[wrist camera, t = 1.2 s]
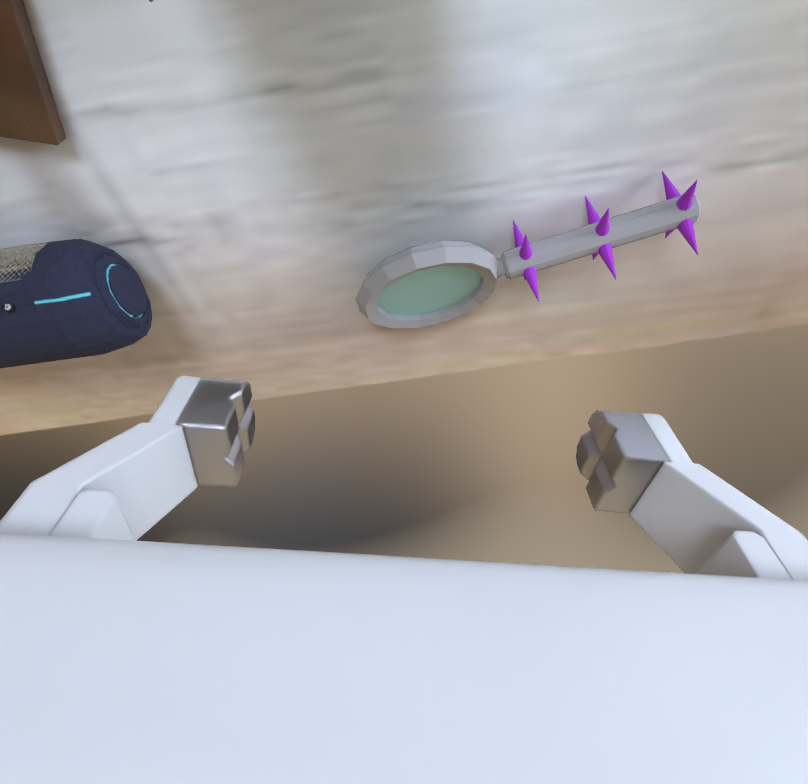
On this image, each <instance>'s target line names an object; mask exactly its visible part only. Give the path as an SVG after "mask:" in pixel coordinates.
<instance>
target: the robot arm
mask: <svg viewBox="0 0 808 784" xmlns="http://www.w3.org/2000/svg"><path fill="white" fill-rule="evenodd" d="M251 397H252V393H251V387H250V384H249V383H248V382H243V381H234V380H224V379H214V378H201V377H191V376H180V377H178V378H177V379H176V380H175V381H174V383H173V385H172V386H171V388H170V389H169V391H168V393H167V394H166V396H165V397H164V399H163V400H162V402H161V404H160V405H159V407H158V408H157V410H156V412H155V413H154V415H153V416H152V418H151V420H150V421H149V423H140V424H138V425H136V426H134V427H132V428H131V429H129V430H127V431H125V432H123V433H121V434H120V435H118V436H116V437H114V438H112V439H110V440H108V441H107V442H105V443H103V444H101V445H99V446H98V447H96V448H94V449H92V450H90V451H88V452H86V453H85V454H83V455H81V456H79V457H77V458H75V459H73V460H72V461H70V462H68V463H66V464H65V465H62V466H61V467H59V468H57V469H55V470H53V471H51V472H50V473H48V474H46V475H44V476H42V477H40V478H39V479H37V480H35V481H33V482H31V483H30V485H29V486H28V487H27V488H26V490H25V491H24V492H23V493H22V495H21V496H20V497H19V499H18V500H17V501H16V502H15V503H14V505H13V506H12V507H11V508H10V510H9V511H8V512H7V513H6V515H5V516H4V517H3V518H2V520H1V521H0V784H808V541H807V540H806V538H805V537H804V536H803V534H802V533H800V532H799V531H797V530H796V529H794V528H793V527H791V526H790V525H788V524H787V523H785V522H784V521H783V520H781V519H780V518H778V517H777V516H775V515H773V514H772V513H771V512H769V511H767V510H766V509H765V508H763V507H762V506H760V505H759V504H757V503H756V502H755V501H753V500H752V499H750V498H749V497H747V496H746V495H744V494H743V493H741V492H740V491H738V490H737V489H735V488H734V487H732V486H731V485H729V484H728V483H727V482H725V481H724V480H722V479H721V478H719V477H718V476H716V475H715V474H713V473H712V472H710V471H709V470H707V469H706V468H704V467H703V466H701V465H700V464H693V463H692V461H691V459H690V458H689V456H688V455H687V453H686V452H685V450H684V449H683V447H682V446H681V444H680V442H679V441H678V439H677V438H676V436H675V434H674V433H673V431H672V430H671V428H670V427H669V425H668V424H667V422H666V420H665V419H664V418H663V417H662V416H660V415H659V414H648V413H647V414H646V413H637V414H636V413H625V412H611V411H598V410H597V411H595V412H594V413H593V414H592V415H591V417H590V420H589V422H588V424H589V426H590V428H591V430H590V431H588V432H587V433H585V434H584V435H583V436H581V438H580V441H579V444H578V446H577V454H576V459H577V465H578V468H579V471H580V473H581V474H582V475H583V476H584V477H585V478H587V479H588V480H589V483H588V485H587V487H586V490H587V492H588V495H589V497H590V500H591V503H592V505H593V508H594V510H596V511H606V512H618V513H628V514H630V515H629V516H630V517H631V518H632V519H633V520H634V521H635V522H636V523H637V524H638V525H639V526H640V527H641V528H642V529H643V530H644V531H645V532H646V533H647V534H648V535H649V536H650V537H651V539H653V541H654V542H655V543H657V545H658V546H659V547H660V548H661V549H662V550H663V551H664V552H665V553H666V554H667V555H668V556H669V557H670V558H671V559H672V560H673V561H674V562H675V563H676V564H677V565H678V566H679V567H680V568H681V569H682V570H683V571H684V573H670V572H654V571H636V570H619V569H603V568H586V567H569V566H553V565H536V564H518V563H502V562H484V561H468V560H450V559H434V558H417V557H399V556H384V555H366V554H349V553H333V552H316V551H315V552H314V551H298V550H282V549H264V548H247V547H230V546H214V545H197V544H180V543H164V542H146V541H136V540H137V539H138V538H140V537H141V536H142V535H143V534H144V533H145V532H147V531H148V530H149V529H150V528H151V527H152V526H153V525H155V524H156V523H157V522H158V521H159V520H160V519H162V518H163V517H164V516H165V515H166V514H167V513H168V512H170V511H171V510H172V509H173V508H174V507H175V506H176V505H178V504H179V503H180V502H181V501H182V500H183V499H184V498H186V497H187V496H188V495H189V494H190V493H191V492H193V491H194V490H195V489H196V488H197V487H198V485H215V486H237V484H238V481H239V478H240V475H241V472H242V470H243V467H244V464H245V463H244V456H243V454H244V453H245V452H247V451H248V450H250V447H251V444H252V441H253V436H254V430H255V415H254V410H253V409H252V408H251V407H250V406H249V403H250V400H251Z"/></svg>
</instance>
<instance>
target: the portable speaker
mask: <svg viewBox="0 0 808 784" xmlns="http://www.w3.org/2000/svg"><path fill="white" fill-rule="evenodd" d="M16 257H17V258H16ZM9 261H10V262H9ZM151 321H152V311H151V304H150V300H149V298H148V296H147V293H146V291H145V289H144V287H143V284H142V282H141V280H140V278H139V276H138V275H137V273H136V272H135V270H134V269H133V268H132V267H131V266H130V265H129V264H128V263H127V262H126V261H125V260H124V259H123V258H122V257H121V256H120V255H118V254H117V253H116V252H115V251H113V250H111V249H108V248H106V247H103V246H100V245H98V244H95V243H92V242H90V241H86V240H82V239H73V240H64V241H56V242H47V243H41V244H34V245H27V246H20V247H13V248H6V249H0V368H6V367H13V366H20V365H28V364H35V363H42V362H49V361H57V360H64V359H71V358H79V357H86V356H93V355H101V354H106V353H108V352H111V351H114V350H117V349H120V348H123V347H126V346H128V345H131V344H133V343H135V342H137V341H138V340H140V339H141V338H143V337H144V336H145V335H147V333H148V331H149V329H150V328H151Z"/></svg>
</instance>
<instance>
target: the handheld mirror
mask: <svg viewBox="0 0 808 784" xmlns="http://www.w3.org/2000/svg"><path fill="white" fill-rule="evenodd" d="M662 175H663V181H664V187H665V193H666V199H667V200H666V201H662V202H659V203H656V204H653V205H650V206H647V207H643V208H640V209H637V210H634V211H631V212H628V213H624V214H621V215H618V216H615V217H612V218H609V208H608V210H607V211H606V213H605V214H604V216H603V217H602V219H600V217H599V216H598V214H597V213H596V211H595V210H594V208H593V207H592V205H591V204H590V202H589V201H588V199H587V198H586V196H585V199H586V207H587V215H588V223H589V225H587V226H583V227H580V228H577V229H574V230H571V231H568V232H564V233H561V234H558V235H555V236H552V237H549V238H545V239H542V240H539V241H536V242H533V243H530V244H529V241H528V238H527V236H525V238H523V236H522V234H521V232H520V231H519V229H518V227H517V225H516V224H515V222H514V220H513V225H514V237H515V248H514V249H511V250H507V251H504V252H503V254H502V255H501V258H500V259H497V260H496V258H495V256H494V255H493V254H491V253H490V252H488V251H487V250H485V249H484V248H481V247H479V246H476V245H474V244H471V243H469V242H466V241H437V242H432V243H427V244H423V245H418V246H413V247H410V248H408V249H406V250H403V251H401V252H399V253H397V254H395V255H393V256H390V257H388V258H386V259H384V260H383V261H382V262H381V263H380V264H378V265H377V266H376V267H375V268H374V269H372V270H371V271H370V272H369V273H368V274H367V276H366V278H365V280H364V282H363V284H362V286H361V288H360V291H359V293H358V295H357V297H356V301H357V304H358V307H359V310H360V312H361V313H363V314H364V315H365V316H366V317H367V318H368V319H370V320H371V321H373V322H375V323H376V324H378V325H380V326H384V327H390V328H396V329H407V328H421V327H426V326H430V325H435V324H440V323H443V322H446V321H448V320H451V319H454V318H456V317H459V316H462V315H464V314H466V313H467V312H469V311H471V310H472V309H474V308H476V307H477V306H479V305H481V304H482V303H483V302H484V301H485V300H486V299H487V298H488V297H489V296H490V295H491V294H492V293H493V291H494V288H495V286H496V283H497V280H498V277H501V276H504V275H505V276H506V277H507V278H508V277H509V278H510V279H512V278H516V277H519V276H522V275H523V276H524V279H525V280H527V282H528V284H529V285H530V287H531V289H532V291H533V292H534V294H535V296H536V298H537V300H538V301H539V297H538V286H537V276H536V271H539V270H542V269H545V268H548V267H552V266H555V265H558V264H562V263H565V262H568V261H571V260H575V259H578V258H581V257H585V256H588V255H591V254H592V255H593V260H594V258H595V257H596V256H597V255H598V253H599V254H600V256H601V257H602V259H603V261H604V262H605V264H606V265H607V267H608V268H609V270H610V271H611V273H612V275H613V276H614V278H615V279H616V276H615V269H614V262H613V255H612V248H614V247H617V246H621V245H624V244H627V243H631V242H634V241H637V240H640V239H644V238H647V237H650V236H654V235H657V234H660V233H663V232H666V235H665V238H666V237H667V236H668V235H669V234H670V233H671V232H672V231H673V230H675V229H677V228H678V230H679V231H680V232H681V234H682V235H683V236H684V238H685V239H686V240H687V242H688V243H689V244H690V246H691V247H692V248H693V250H694V251H695V252H696V254H697V255H698V252H697V246H696V240H695V234H694V228H693V223H695V222H696V221H697V220H698V219H699V217H700V214H701V204H700V201H699V199H698V197H697V196H696V195H694V193H695V188H696V184H697V180H696V182H695V183H694V184H693V185H692V186H691V187H690V188H689V189H688V190H687V191H686V192H685V193H684V194H683V195H681V194H680V193H679V192H678V191H677V189H676V188H675V187H674V185H673V184H672V183H671V182H670V180H669V179H668V178H667V176H666V175H665V174H664V173H663V171H662Z"/></svg>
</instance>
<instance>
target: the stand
mask: <svg viewBox="0 0 808 784" xmlns="http://www.w3.org/2000/svg"><path fill="white" fill-rule="evenodd" d="M0 137H7V138H14V139H21V140H27V141H34V142H41V143H48V144H54V145H58V144H60V143H61V142H62V141H63V140H64V139H65V138H66V137H65V133H64V130H63V127H62V124H61V121H60V118H59V115H58V111H57V108H56V105H55V102H54V99H53V96H52V93H51V89H50V86H49V83H48V80H47V77H46V74H45V70H44V67H43V64H42V61H41V58H40V55H39V52H38V48H37V45H36V42H35V39H34V36H33V33H32V30H31V26H30V23H29V20H28V17H27V14H26V11H25V8H24V4H23V1H22V0H0Z"/></svg>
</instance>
